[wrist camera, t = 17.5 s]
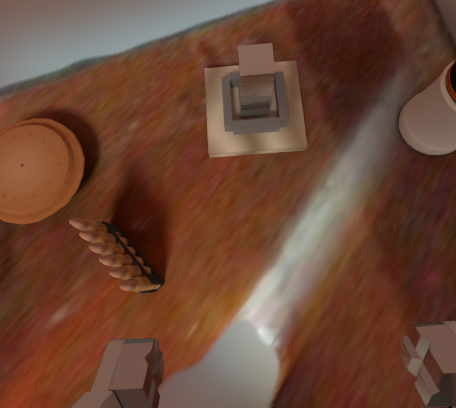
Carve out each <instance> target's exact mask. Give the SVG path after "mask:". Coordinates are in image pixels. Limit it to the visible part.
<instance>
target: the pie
mask: <svg viewBox="0 0 456 408" xmlns="http://www.w3.org/2000/svg"><path fill="white" fill-rule="evenodd" d="M84 164H85V157H84V154H83V150H82V147H81V144H80V142H79V141H78V139H77V137H76V136H75V134H74V133H73V132H72V131H70V130H69V129H68V128H66V127H65V126H64V125H62V124H60V123H58V122H56V121H54V120H52V119H44V118H34V119H29V120H24V121H20V122H18V123H16V124H13V125H11V126H9V127H7V128H5V129H4V130H2V131H1V132H0V219H1V220H3V221H5V222H9V223H16V224H28V223H34V222H39V221H41V220H43V219H44V218H46V217H48V216H50V215H52V214H54V213H55V212H57V211H58V210H59V209H61V208H62V207H63V206H65V205H66V204H67V203H68V202H69V201H70V200H71V198H72V197H73V196H74V194H75V193H76V191H77V190H78V188H79V185H80V182H81V180H82V177H83V174H84Z"/></svg>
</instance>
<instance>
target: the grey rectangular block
mask: <svg viewBox="0 0 456 408" xmlns="http://www.w3.org/2000/svg"><path fill="white" fill-rule="evenodd" d="M238 67H239V99H240V112H241V119H250V118H262V117H269V115H270V105H271V99H272V92H273V85H274V78H275V65H274V56H273V47H272V43H265V44H255V45H244V46H238Z"/></svg>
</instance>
